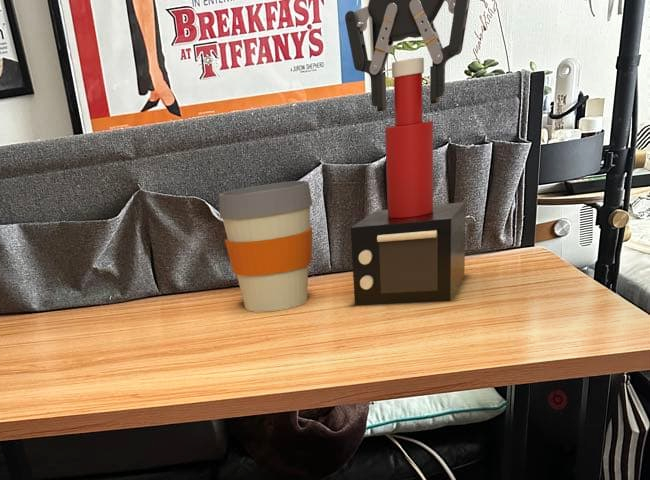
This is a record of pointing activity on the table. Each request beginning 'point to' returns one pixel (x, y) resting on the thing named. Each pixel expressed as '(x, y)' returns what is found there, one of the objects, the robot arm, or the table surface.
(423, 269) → the toaster oven
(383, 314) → the table surface
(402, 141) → the ketchup bottle
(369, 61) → the robot arm
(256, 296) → the reusable coffee cup
